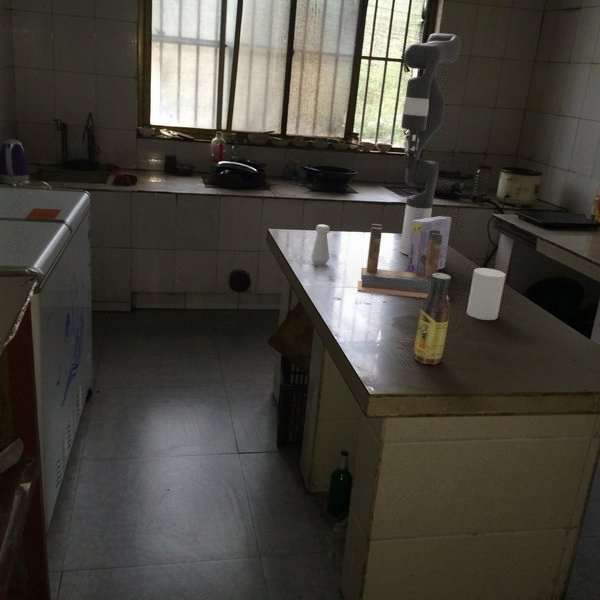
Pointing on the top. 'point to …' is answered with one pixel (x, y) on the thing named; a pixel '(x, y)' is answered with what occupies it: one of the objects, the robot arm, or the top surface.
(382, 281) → the rail
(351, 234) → the top surface
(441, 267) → the cake pan box
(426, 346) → the sauce bottle
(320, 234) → the salt shaker
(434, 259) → the rack
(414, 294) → the mat
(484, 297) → the cup
